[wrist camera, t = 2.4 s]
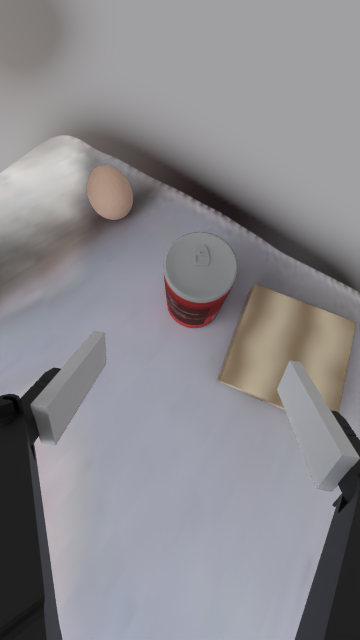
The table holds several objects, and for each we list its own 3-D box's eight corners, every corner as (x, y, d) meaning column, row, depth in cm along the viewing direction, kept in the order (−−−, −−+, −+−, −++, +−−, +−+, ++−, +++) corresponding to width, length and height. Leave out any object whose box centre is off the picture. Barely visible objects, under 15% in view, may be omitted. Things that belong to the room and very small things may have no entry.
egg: (92, 204, 38) (72, 158, 31) (130, 193, 39) (119, 146, 31) (102, 234, 36) (83, 193, 29) (141, 223, 37) (132, 180, 30)
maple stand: (216, 380, 30) (220, 379, 27) (248, 292, 34) (255, 283, 31) (318, 425, 28) (335, 430, 25) (340, 328, 32) (356, 322, 29)
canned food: (212, 275, 34) (227, 226, 24) (224, 324, 32) (248, 293, 22) (163, 283, 34) (157, 236, 23) (172, 334, 32) (170, 306, 21)
